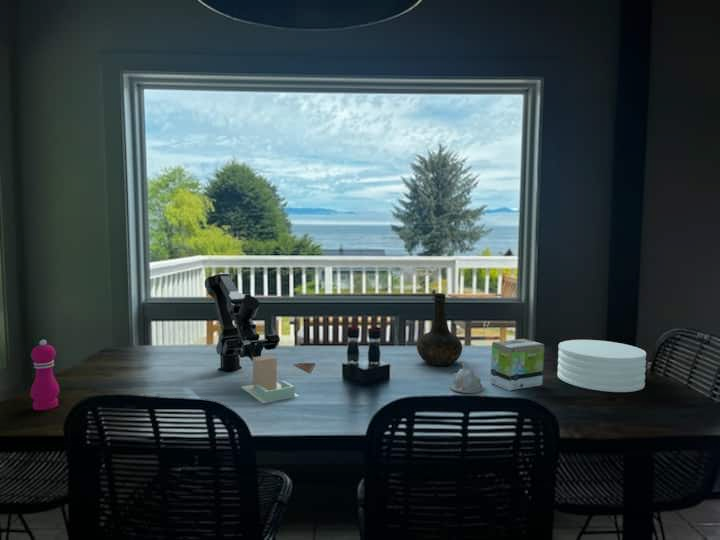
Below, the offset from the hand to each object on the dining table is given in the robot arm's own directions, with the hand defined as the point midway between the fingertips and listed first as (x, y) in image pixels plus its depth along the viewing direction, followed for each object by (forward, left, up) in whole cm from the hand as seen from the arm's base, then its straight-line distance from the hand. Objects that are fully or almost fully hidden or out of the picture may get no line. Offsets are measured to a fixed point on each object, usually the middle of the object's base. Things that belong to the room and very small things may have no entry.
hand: (258, 365), depth 163 cm
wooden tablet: (+1, +22, -9) cm, 24 cm away
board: (+7, -4, -8) cm, 11 cm away
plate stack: (+101, +64, -8) cm, 120 cm away
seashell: (+61, +32, -8) cm, 70 cm away
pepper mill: (-45, -42, -8) cm, 62 cm away
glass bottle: (+44, +59, -8) cm, 74 cm away
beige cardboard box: (+4, -2, -6) cm, 8 cm away
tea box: (+76, +44, -8) cm, 88 cm away
